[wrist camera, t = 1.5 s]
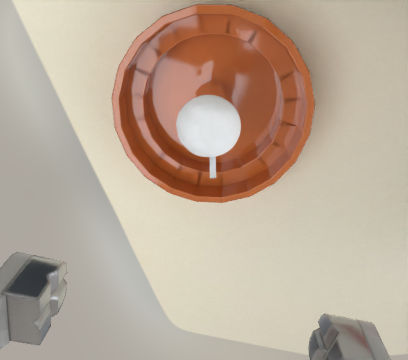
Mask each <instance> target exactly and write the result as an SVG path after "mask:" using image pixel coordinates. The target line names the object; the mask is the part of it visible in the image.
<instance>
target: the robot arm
mask: <svg viewBox="0 0 408 360" xmlns="http://www.w3.org/2000/svg"><path fill="white" fill-rule="evenodd" d="M66 273H67V263H65V262H61V261H57V260H53V259H48V258H44V257H39V256H35V255H29V254H25V253H20V252H16V253H14V254H12V255H11V256H10V258H9V259H8V260H7V261H6V262H5V263H4V264H3V266H2V267H1V268H0V349H1V348H3V347H4V346H5V345H7V344H8V343H9V341H15V342H22V343H27V344H34V345H40V344H41V342H42V341H43V339H44V337H45V335H46V333H47V332H48V330H49V328H50V326H51V317H53V316H54V315H56V314H57V313H58V312H59V309H60V308H61V306H62V304H63V301H64V298H65V294H66V289H67V282H66V281H65V280H64V276H65V275H66ZM318 323H319V326H320V328H318V329H316V330H315V331H313V333H312V335H311V337H310V341H309V356H310V360H391V359H390V357H389V355H388V353H387V351H386V348H385V346H384V344H383V342H382V340H381V338H380V336H379V334H378V331H377V329H376V327H375V325H374V324H373V323H372V322H367V321H361V320H354V319H351V318H345V317H340V316H335V315H329V314H323V315H322V316H321V317H320V319H319V321H318Z"/></svg>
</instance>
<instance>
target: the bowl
mask: <svg viewBox="0 0 408 360" xmlns="http://www.w3.org/2000/svg"><path fill="white" fill-rule="evenodd" d="M209 81H213V82H218V83H222V84H223V85H224V86H225V87H226V89H227V90H228V91H229V92H230V95H231V97H232V100H233V103H234V106H235V108H236V110H237V112H238V114H239V117H240V121H241V131H240V136H239V138H238V140H237V142H236V144H235V145H234V146H233V147H232V148H231V149H230V150H229V151H228V152H226V153H225V154H222V155H219V156H216V178H214V179H210V165H209V157H201V156H197V155H195V154H193V153H191V152H190V151H189V150H188V149H187V148H186V147H185V146H184V145H183V144H182V143H181V142H180V140H179V138H178V134H177V127H176V122H177V117H178V114H179V112H180V110H181V109H182V107H183V106H184V105H185V104H186V103H187V102H188V101H189V100H190V99H191V98H192V96H193V95H194V94H195V92H196V91H197V89H198V88H199V87H200V86H201V85H203V84H205V83H207V82H209ZM112 106H113V115H114V124H115V129H116V132H117V134H118V136H119V139H120V141H121V143H122V145H123V148H124V150H125V152H126V155H127V156H128V157H129V158H130V160H131V161H132V162H133V163H134V164H135V166H136V167H137V168H138V169H139V170H140V171H141V173H142V174H143V175H144V176H145V177H146V178H147V179H149V180H150V181H152V182H153V183H155V184H156V185H158V186H159V187H161V188H162V189H164V190H165V191H167V192H169V193H171V194H174V195H177V196H180V197H183V198H186V199H189V200H193V201H196V202H218V203H223V202H228V201H232V200H237V199H241V198H245V197H250V196H252V195H254V194H256V193H257V192H259V191H261V190H263V189H265V188H267V187H268V186H270V185H272V184H274V183H275V182H276V181H277V180H278V179H279V178H280V177H281V176H282V175H283V174H284V173H285V172H286V171H287V170H288V169H289V168H290V167H291V166H292V165H293V164H294V163H295V162H296V161H297V159H298V157H299V155H300V153H301V151H302V149H303V147H304V145H305V143H306V141H307V139H308V138H309V135H310V131H311V125H312V119H313V113H314V107H315V101H314V95H313V89H312V83H311V77H310V72H309V70H308V68H307V66H306V64H305V62H304V60H303V59H302V57H301V55H300V53H299V51H298V49H297V48H296V46H295V44H294V42H293V41H292V40H291V39H290V38H289V37H287V36H286V35H285V34H284V33H283V32H282V31H281V30H279V29H278V28H277V27H276V26H275V25H274V24H273V23H272V22H270V21H269V20H268V19H266V18H265V17H262V16H260V15H257V14H255V13H252V12H250V11H247V10H244V9H242V8H239V7H237V6H234V5H222V4H197V5H193V6H190V7H187V8H184V9H181V10H179V11H176V12H173V13H170V14H167V15H164V16H163V17H161V18H160V19H158V20H157V21H156V22H155V23H153V24H152V25H151V26H150V27H148V28H147V29H146V30H145V31H144V32H142V33H141V34H140V35H139V36H137V37H136V39H135V40H134V41H133V43H132V45H131V46H130V48H129V50H128V51H127V53H126V55H125V56H124V58H123V60H122V61H121V63H120V65H119V67H118V70H117V75H116V80H115V84H114V89H113V94H112Z"/></svg>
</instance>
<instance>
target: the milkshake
mask: <svg viewBox="0 0 408 360" xmlns="http://www.w3.org/2000/svg"><path fill="white" fill-rule="evenodd" d="M176 127H177V134H178V138H179V140H180V142H181V143H182V144H183V145H184V146H185V147H186V148H187V149H188V150H189V151H190V152H191V153H193V154H195V155H197V156H201V157H209V165H210V179H214V178H216V156H219V155H222V154H225V153H226V152H228V151H229V150H230V149H231V148H232V147H233V146H234V145H235V144H236V142H237V140H238V138H239V136H240V131H241V121H240V117H239V114H238V112H237V110H236V108H235V106H234V103H233V100H232V97H231V95H230V92H229V91H228V90H227V89H226V87H225V86H224V85H223V84H222V83H218V82H213V81H209V82H207V83H205V84H203V85H201V86H200V87H199V88H198V89H197V91H196V92H195V94H194V95H193V96H192V98H191V99H190V100H189V101H188V102H187V103H186V104H185V105H184V106H183V107H182V109H181V110H180V112H179V114H178V117H177V122H176Z"/></svg>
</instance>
